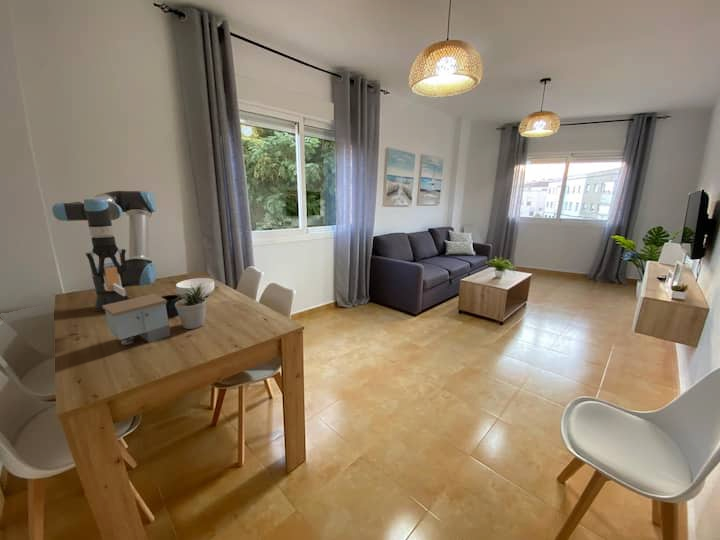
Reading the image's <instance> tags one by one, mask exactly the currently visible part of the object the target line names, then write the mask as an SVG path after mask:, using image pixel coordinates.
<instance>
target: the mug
mask: <svg viewBox="0 0 720 540" xmlns="http://www.w3.org/2000/svg"><path fill="white" fill-rule="evenodd" d="M179 296H180V295H178V294H168V295H167V294H166V295H163V296H161V297H162V298H164V299H166V300H167V303H165V304H166V310H167V316H168V319H173V318H176V317H179V314H178V312H177V309H176V307H175V303H176V302H178V301H180V297H179Z"/></svg>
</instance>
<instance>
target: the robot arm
mask: <svg viewBox="0 0 720 540" xmlns="http://www.w3.org/2000/svg"><path fill="white" fill-rule="evenodd" d="M156 210H157V205H156V203H155V198H154V197H153V195H152V194H151V192H149V191H147V190H145V191H144V190H114V191H107V192H104V193H98V194H96V195H95V196H94V197H92V198H91V197H90V198H85V199H82V200H78V201H72V202H61V203H60V202H57V203H54V204H53V205H52V209H51V211H52V215H53V217H54V218H55V219H56V220H58V221H60V222H61V221H62V222H75V221H81V222H82V221H87V225H88V230H89V233H90V234H89V235H90V237H91V238H90V239H91V243H92V251H89V252H85V256H86V258H87V259H88V262H89V266H90V270H91V278H92V282H93V285H94V289H95V290H94V291H95V294H96V296H95V300H94V310H95V311H96V312H103V313H104V312H106V311H105V310H104V309H103V307H102V305H106V304H111V303H115V302H120V301H124V300H129V299H131V298H130V296H129V295H128V293H127V292H126V290H125V292H126V296H122V295H120V294H119V293H117V292H116V291H109V288H108V283H107V279H106V276H105V275H104V267H110V266H115V267H117V272H118V277H119V282H120V286H121V287H123V288H124V289H125V287H140V286H141V287H144V286H149V285H152V284H154V282H155V280H156V278H157V266H156V264H155V263H153V260H152V259H150V258H149V257H150V254H149V253H150V251H149V249H150V247H149V243H150V242H149V239H150V237H149V235H150V234H149V233H150V232H149V231H150V230H149V229H150V228H149V222H150V221H149V219H150V218H151V217H152V216H153V215H152V213H155V212H156ZM123 213H125V214H126V215H127V216H128V217H129V218H128V221H129V222H128V224H129V228H128V231H129V232H128V234H129V235H128V236H129V237H128V238H129V240H128V241H129V242H128V257H127V259H126V251H127V250H126V249H125V248H119V247H118V246H117V243H116V239H115V236H114V234H115V233H114V228H113V224H112V221H115V220H117V219H120V218H121V217H122V215H123ZM117 252H118V254H119V260H120V262H119V261H118V260H117V257H116V254H117ZM95 255H96V256H97V257H98V265H96V263H95V259H94V256H95ZM108 258H110V260H111V262H105V259H108Z"/></svg>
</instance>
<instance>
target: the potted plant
mask: <svg viewBox="0 0 720 540" xmlns="http://www.w3.org/2000/svg"><path fill="white" fill-rule="evenodd" d="M190 286H191V285H190ZM191 287H192V286H191ZM202 288H203V287H202ZM192 289H193V290H194V288H193V287H192ZM200 289H201V285H200V284H199V285H198V286H197V291H196V292H195V290H194V294H193V293H192V292H190V291H189V292H190V293H191V294H192V295H190V294H189V293H187V292H186V291H188V290H186V291H185V289H184V291H185V292H186V293H184V294H178V293H177V296H179V298H181V300H180V299H179V301H178V302H176V303H175V307H176V309H177V312H178V314H179V315H178V317H179V320H180V323H181V325H182V327H183V328H184V329H187V330H194V329H198V328H201V327H202V326H204V325H205V322H206V309H207V306H206V305H207V299H206V297H207V296H208V295H206V296H205V297H202V296H203V294H204V293H205V292H204V293H203V292H202V295H201V291H202V289H201V291H200ZM181 293H183V292H181ZM181 295H182V296H183V295H185V296H183V297H182V296H181ZM200 295H201V296H200ZM186 296H187V297H186ZM184 297H185V298H184Z"/></svg>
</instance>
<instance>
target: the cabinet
mask: <svg viewBox="0 0 720 540" xmlns="http://www.w3.org/2000/svg"><path fill="white" fill-rule="evenodd" d="M165 303H167V300H166V299H164V298H162V296H159V294H156V293H152V294H146V295H143V296H139V297H138V296H137V297H133V298H130V299H129V300H124V301H120V302H115V303H111V304H106V305H102V307H103V309H104V310H105V311H104V312H105V316H106V320H107V324H108V329H109V332H110V333H111V334H112V335H113V336H114V337H115V338H117V339H118V340H119V341H122V340H124V339H126V338H130V337H134V336H137V335H138V336H140V337H141V338H142V339H144V340H145V341H146V342H148V343H149V344H150V343H153V342H156V341H160V340H162V339H165V338H168V337H171V329H170V322H169V318H168V316H167V310H166V304H165Z"/></svg>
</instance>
